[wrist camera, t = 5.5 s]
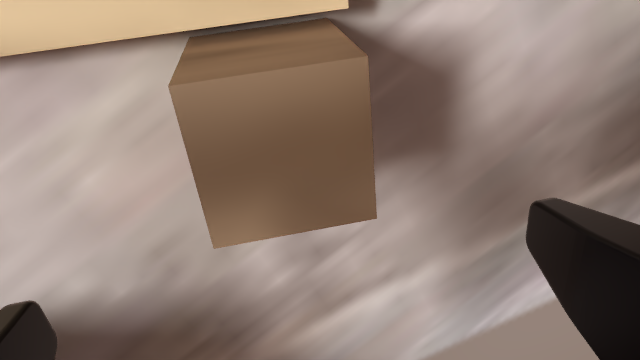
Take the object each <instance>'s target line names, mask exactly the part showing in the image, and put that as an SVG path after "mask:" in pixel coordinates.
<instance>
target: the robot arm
mask: <svg viewBox="0 0 640 360" xmlns="http://www.w3.org/2000/svg"><path fill="white" fill-rule="evenodd" d="M526 243H527V246H528V249H529V251H530V252H531V254H532V256H533V257H534V259H535V261H536V263H537V264H538V266H539V268H540V269H541V271H542V273H543V275H544V276H545V278H546V280H547V281H548V283H549V285H550V287H551V288H552V290H553V292H554V293H555V295H556V297H557V298H558V300H559V302H560V303H561V305H562V307H563V308H564V310H565V312H566V313H567V315H568V316H569V318H570V319H571V320H572V322H573V323H574V325H575V326H576V328H577V329H578V330H579V332H580V333H581V335H582V336H583V337H584V339H585V340H586V341H587V343H588V344H589V346H590V347H591V348H592V350H593V351H594V352H595V354H596V355H597V356H598V358H599V359H600V360H640V225H638V224H635V223H632V222H629V221H626V220H623V219H619V218H616V217H613V216H610V215H607V214H604V213H601V212H598V211H595V210H592V209H589V208H586V207H582V206H579V205H576V204H573V203H570V202H567V201H564V200H561V199H558V198H548V199H543V200H538V201H535V202H533V203H532V204H531V206H530V210H529V217H528V224H527V231H526ZM56 349H57V337H56V334H55V332H54V330H53V328H52V326H51V325H50V323H49V321H48V319H47V318H46V316H45V314H44V313H43V311H42V309H41V307H40V306H39V305H38V303H36V302H35V301H24V302H19V303H14V304H10V305H7V306H5V307H4V308H2V309H1V310H0V360H55V354H56Z"/></svg>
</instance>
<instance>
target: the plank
mask: <svg viewBox="0 0 640 360" xmlns="http://www.w3.org/2000/svg"><path fill="white" fill-rule="evenodd" d="M346 8H349V6H348V0H0V57H1V56H8V55H16V54H23V53H30V52H37V51H44V50H51V49H59V48H66V47H73V46H80V45H87V44H95V43H102V42H109V41H116V40H123V39H130V38H138V37H145V36H152V35H159V34H166V33H174V32H181V31H188V30H195V29H202V28H210V27H217V26H224V25H231V24H238V23H245V22H253V21H260V20H267V19H274V18H281V17H289V16H296V15H303V14H310V13H317V12H324V11H332V10H339V9H346Z"/></svg>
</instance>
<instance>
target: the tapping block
mask: <svg viewBox="0 0 640 360" xmlns="http://www.w3.org/2000/svg"><path fill="white" fill-rule="evenodd" d="M168 87H169V91H170V94H171V98H172V101H173V105H174V109H175V112H176V116H177V119H178V123H179V126H180V130H181V134H182V137H183V141H184V144H185V148H186V151H187V155H188V158H189V162H190V166H191V169H192V173H193V176H194V180H195V183H196V187H197V191H198V194H199V198H200V201H201V205H202V208H203V212H204V216H205V219H206V223H207V226H208V230H209V233H210V237H211V240H212V244H213V248H214V249H215V248H221V247H226V246H231V245H237V244H242V243H247V242H253V241H258V240H264V239H269V238H274V237H280V236H285V235H291V234H296V233H301V232H307V231H312V230H318V229H323V228H328V227H334V226H339V225H344V224H350V223H355V222H361V221H366V220H371V219H377V212H376V194H375V175H374V157H373V138H372V119H371V101H370V82H369V64H368V55H366V54H365V53H364V52H363V51H362V50H361V49H360V48H359V47H358V46H357V45H356V44H355V43H353V42H352V41H351V40H350V39H349V38H348V37H347V36H346V35H345V34H344V33H343V32H341V31H340V30H339V29H338V28H337V27H336V26H335V25H334V24H333V23H332V22H331V21H329V20H328V19H327V18H322V19H315V20H308V21H301V22H294V23H287V24H280V25H273V26H266V27H259V28H252V29H245V30H238V31H231V32H224V33H217V34H210V35H203V36H196V37H189V40H188V42H187V44H186V47H185V49H184V51H183V53H182V56H181V58H180V60H179V63H178V65H177V67H176V70H175V72H174V74H173V76H172V79H171V81H170V83H169V86H168Z"/></svg>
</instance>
